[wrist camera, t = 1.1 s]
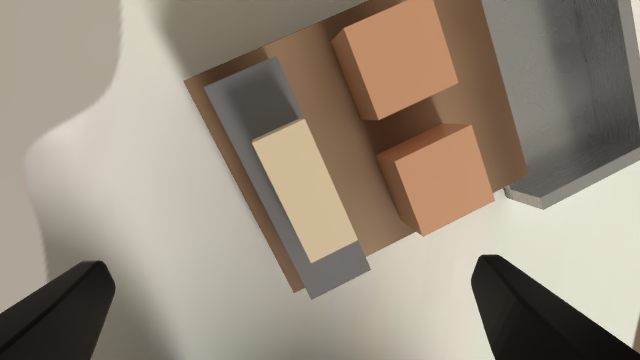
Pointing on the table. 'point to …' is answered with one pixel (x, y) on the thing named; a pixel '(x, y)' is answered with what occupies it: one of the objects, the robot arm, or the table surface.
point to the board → (375, 135)
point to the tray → (568, 91)
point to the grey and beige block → (289, 174)
